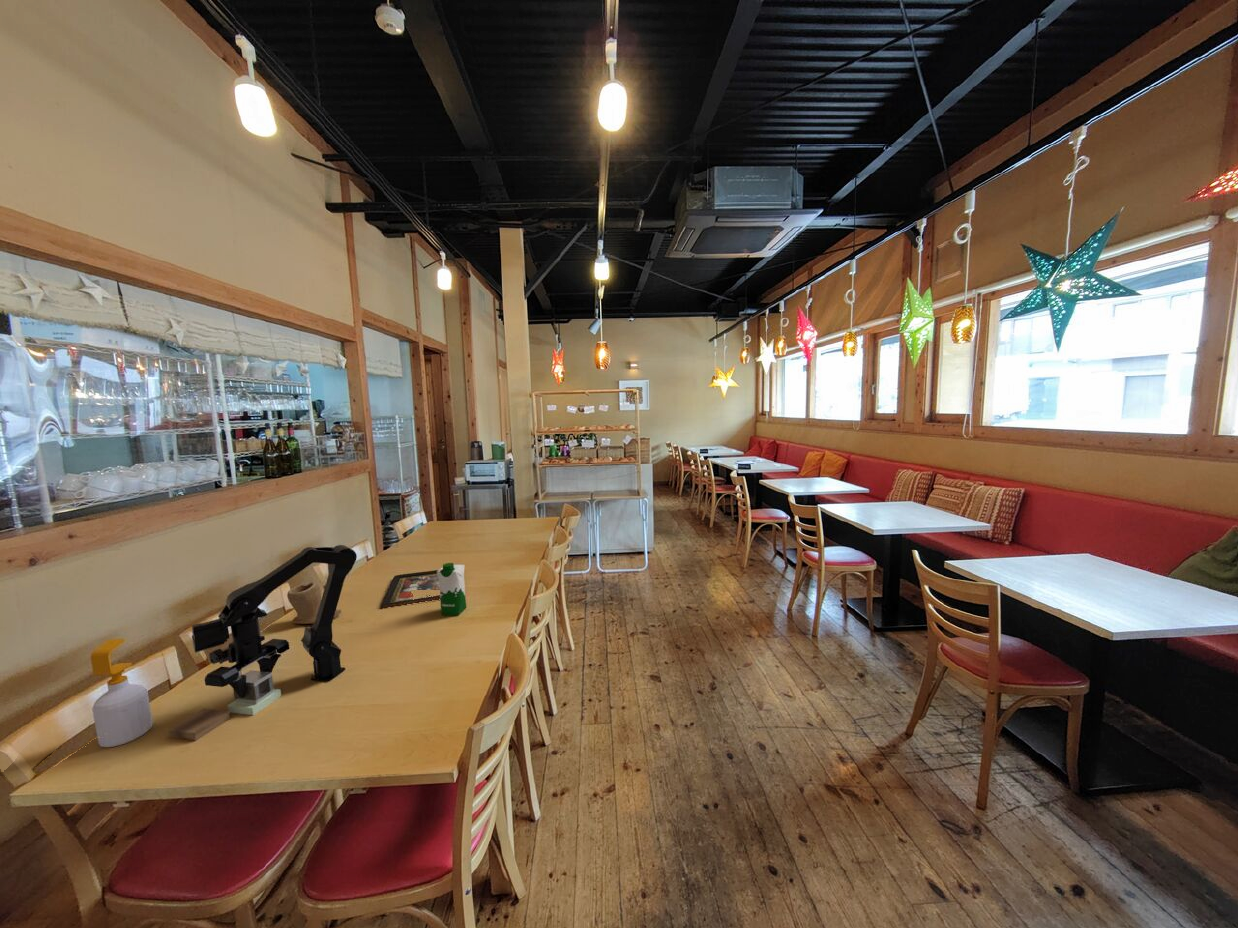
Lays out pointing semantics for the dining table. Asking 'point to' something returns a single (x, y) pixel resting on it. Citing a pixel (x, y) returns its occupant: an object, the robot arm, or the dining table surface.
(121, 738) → the soap bottle
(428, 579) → the religious icon
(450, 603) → the milk carton
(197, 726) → the stand walnut
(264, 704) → the stand green
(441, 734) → the dining table surface
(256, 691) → the housing
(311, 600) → the stone cup
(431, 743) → the dining table surface
